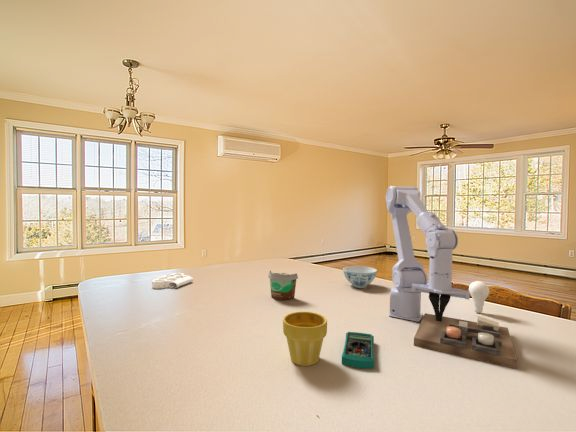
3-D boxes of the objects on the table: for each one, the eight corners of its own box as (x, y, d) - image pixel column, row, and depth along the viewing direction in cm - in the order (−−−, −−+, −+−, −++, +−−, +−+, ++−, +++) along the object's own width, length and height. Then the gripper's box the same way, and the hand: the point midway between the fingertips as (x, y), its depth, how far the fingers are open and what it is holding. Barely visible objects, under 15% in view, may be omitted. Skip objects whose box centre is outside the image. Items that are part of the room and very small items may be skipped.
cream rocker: (477, 324, 89) (478, 319, 88) (477, 320, 92) (478, 316, 92) (498, 331, 86) (499, 326, 86) (497, 327, 89) (498, 322, 89)
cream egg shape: (478, 343, 76) (478, 335, 76) (477, 338, 79) (478, 331, 79) (493, 346, 74) (494, 338, 74) (493, 341, 77) (493, 334, 77)
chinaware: (351, 280, 152) (351, 264, 152) (381, 285, 143) (381, 268, 143) (337, 286, 140) (337, 269, 140) (369, 292, 131) (369, 274, 131)
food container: (262, 298, 120) (262, 273, 120) (269, 294, 126) (269, 270, 126) (292, 303, 116) (292, 276, 115) (297, 298, 122) (298, 273, 121)
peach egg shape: (445, 336, 79) (446, 329, 79) (446, 332, 82) (447, 325, 82) (460, 339, 78) (460, 332, 78) (460, 335, 81) (460, 328, 80)
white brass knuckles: (172, 291, 130) (143, 288, 135) (197, 281, 147) (171, 278, 152) (172, 283, 130) (143, 280, 135) (197, 274, 147) (171, 272, 152)
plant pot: (293, 374, 67) (294, 330, 67) (276, 353, 77) (276, 314, 76) (334, 365, 71) (335, 323, 71) (313, 346, 81) (313, 309, 80)
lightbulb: (491, 316, 104) (493, 284, 104) (471, 315, 106) (472, 282, 105) (484, 310, 110) (485, 279, 110) (465, 309, 112) (466, 278, 111)
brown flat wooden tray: (413, 345, 82) (414, 332, 82) (424, 319, 101) (425, 308, 101) (516, 368, 71) (517, 353, 71) (507, 334, 90) (507, 322, 90)
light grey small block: (458, 334, 84) (458, 325, 84) (459, 329, 87) (459, 320, 87) (466, 336, 83) (467, 327, 83) (467, 330, 86) (467, 322, 86)
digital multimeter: (341, 367, 71) (341, 355, 71) (345, 340, 86) (346, 329, 85) (374, 372, 69) (374, 359, 69) (373, 343, 84) (373, 333, 84)
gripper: (410, 271, 88) (409, 319, 88) (470, 278, 80) (468, 330, 81) (414, 267, 94) (413, 312, 94) (470, 273, 86) (468, 321, 87)
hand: (439, 320), depth 88 cm, fingers closed
